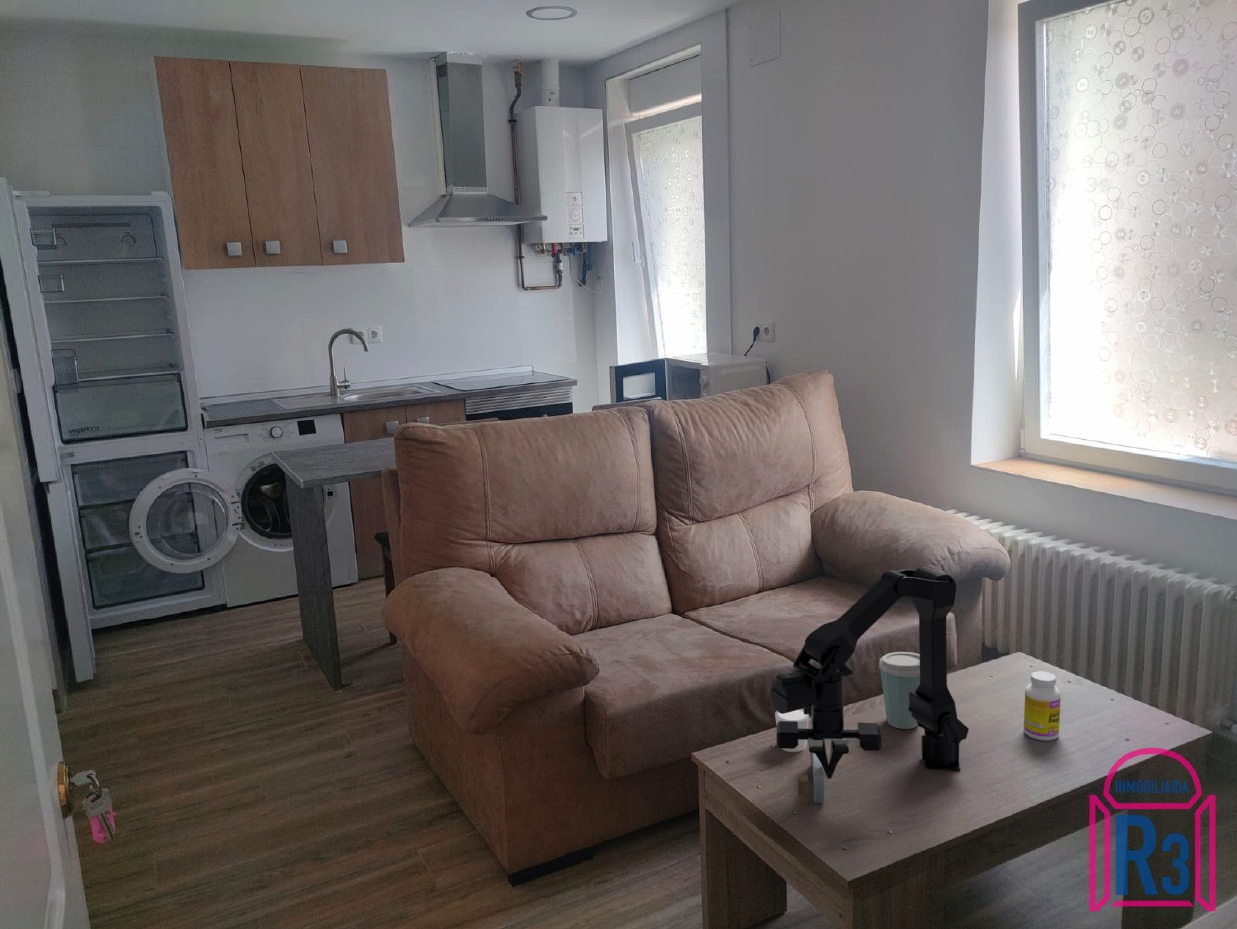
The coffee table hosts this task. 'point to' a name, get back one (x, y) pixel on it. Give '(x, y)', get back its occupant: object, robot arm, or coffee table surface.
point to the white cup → (802, 724)
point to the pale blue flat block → (818, 779)
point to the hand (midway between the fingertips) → (829, 777)
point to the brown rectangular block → (803, 789)
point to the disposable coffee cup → (899, 686)
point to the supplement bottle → (1042, 707)
